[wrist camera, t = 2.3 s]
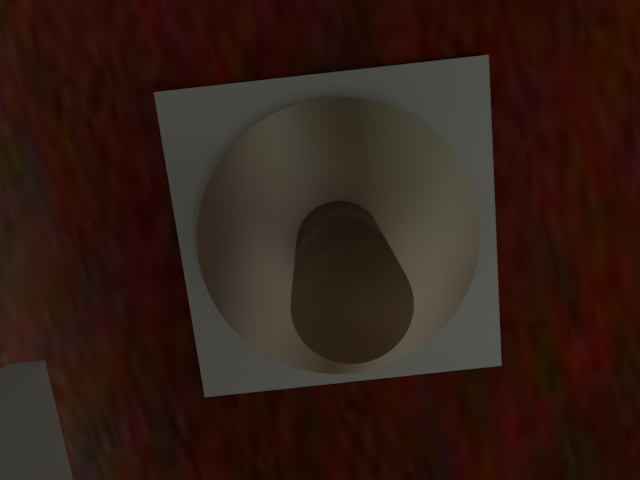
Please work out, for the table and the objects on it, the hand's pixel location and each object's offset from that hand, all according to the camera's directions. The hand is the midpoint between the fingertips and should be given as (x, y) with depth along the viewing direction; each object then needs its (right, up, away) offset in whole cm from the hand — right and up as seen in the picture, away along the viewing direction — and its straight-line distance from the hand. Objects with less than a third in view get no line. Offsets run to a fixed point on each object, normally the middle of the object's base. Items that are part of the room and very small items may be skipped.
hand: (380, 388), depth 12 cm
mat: (0, +3, +15) cm, 15 cm away
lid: (0, +3, +14) cm, 15 cm away
